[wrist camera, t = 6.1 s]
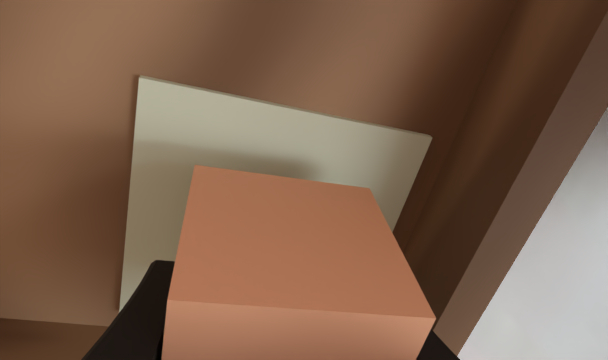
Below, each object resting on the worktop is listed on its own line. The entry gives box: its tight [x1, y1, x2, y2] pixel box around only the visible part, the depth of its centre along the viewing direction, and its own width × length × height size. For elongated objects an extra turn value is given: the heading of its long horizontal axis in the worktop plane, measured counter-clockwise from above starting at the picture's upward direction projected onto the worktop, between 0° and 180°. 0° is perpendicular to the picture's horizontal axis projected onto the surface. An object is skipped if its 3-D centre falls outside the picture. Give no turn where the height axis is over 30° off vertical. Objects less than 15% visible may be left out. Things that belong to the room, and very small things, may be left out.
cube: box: [161, 165, 436, 360], centre depth 10 cm, size 4×4×4 cm
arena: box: [0, 0, 608, 360], centre depth 11 cm, size 16×16×4 cm
